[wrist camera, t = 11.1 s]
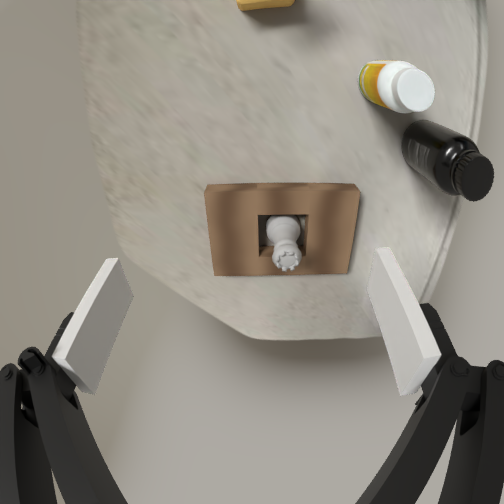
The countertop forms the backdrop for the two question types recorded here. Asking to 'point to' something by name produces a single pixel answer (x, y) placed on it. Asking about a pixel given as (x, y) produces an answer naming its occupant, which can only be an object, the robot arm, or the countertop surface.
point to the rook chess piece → (284, 240)
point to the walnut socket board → (280, 203)
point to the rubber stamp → (262, 4)
